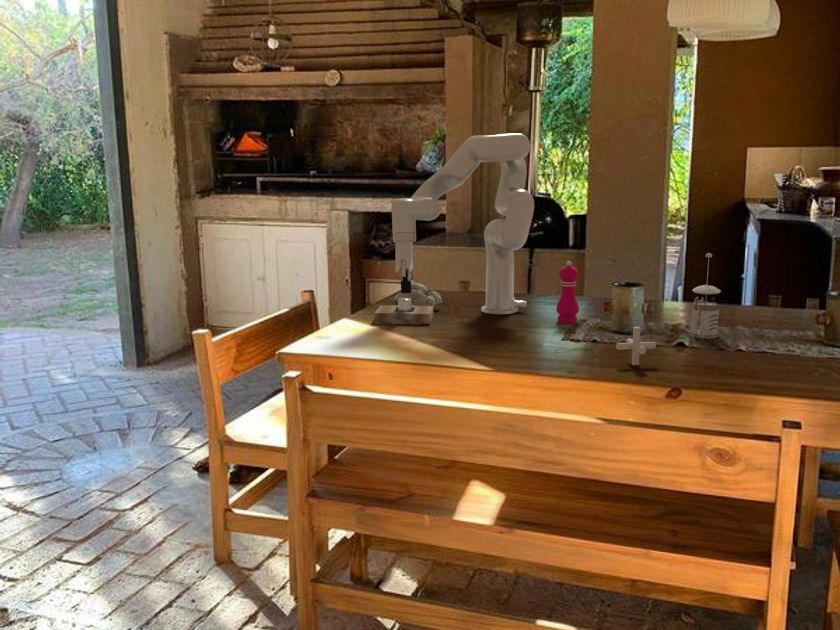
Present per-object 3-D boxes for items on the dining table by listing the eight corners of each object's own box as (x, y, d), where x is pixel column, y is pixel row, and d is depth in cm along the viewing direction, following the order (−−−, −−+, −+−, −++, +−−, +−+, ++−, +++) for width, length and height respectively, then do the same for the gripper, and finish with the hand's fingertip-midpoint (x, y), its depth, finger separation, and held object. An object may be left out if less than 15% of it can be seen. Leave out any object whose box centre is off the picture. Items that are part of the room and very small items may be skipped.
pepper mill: (553, 323, 267) (555, 262, 263) (558, 319, 273) (560, 259, 269) (575, 325, 264) (578, 263, 260) (580, 320, 271) (582, 260, 267)
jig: (433, 316, 279) (433, 306, 278) (430, 324, 266) (430, 313, 266) (380, 315, 281) (380, 305, 280) (374, 323, 268) (374, 313, 267)
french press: (726, 335, 250) (732, 252, 245) (709, 341, 242) (715, 256, 237) (695, 330, 257) (700, 249, 252) (678, 336, 248) (683, 253, 243)
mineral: (436, 307, 282) (441, 279, 284) (388, 302, 286) (393, 275, 288) (443, 318, 293) (447, 291, 296) (396, 313, 297) (400, 287, 300)
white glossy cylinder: (412, 318, 276) (411, 297, 274) (410, 321, 271) (410, 300, 270) (399, 318, 276) (398, 297, 275) (397, 321, 272) (397, 300, 270)
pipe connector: (610, 360, 222) (612, 323, 220) (646, 359, 223) (648, 322, 221) (622, 370, 212) (624, 332, 210) (660, 369, 213) (662, 331, 211)
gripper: (395, 234, 276) (397, 288, 280) (389, 240, 261) (391, 297, 265) (418, 234, 275) (419, 288, 279) (413, 239, 260) (415, 297, 264)
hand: (406, 292), depth 272 cm, fingers closed
